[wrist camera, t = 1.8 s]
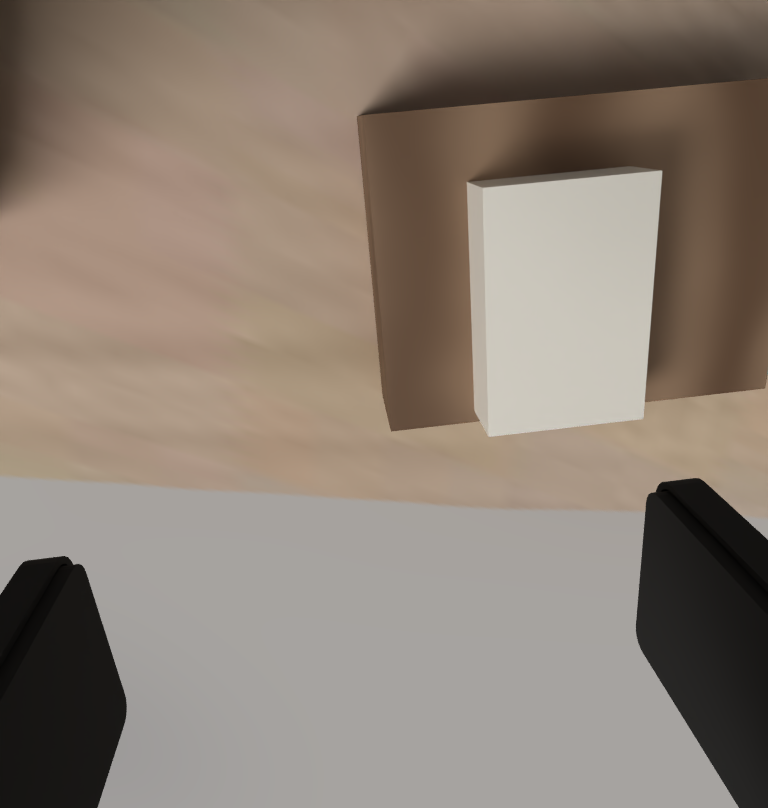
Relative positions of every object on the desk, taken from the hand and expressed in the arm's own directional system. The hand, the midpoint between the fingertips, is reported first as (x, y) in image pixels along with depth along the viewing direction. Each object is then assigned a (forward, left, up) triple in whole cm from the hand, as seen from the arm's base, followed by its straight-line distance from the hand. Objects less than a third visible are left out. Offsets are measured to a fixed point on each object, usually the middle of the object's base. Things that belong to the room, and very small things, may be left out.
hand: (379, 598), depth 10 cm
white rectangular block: (-8, 0, -15) cm, 17 cm away
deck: (-9, -1, -20) cm, 22 cm away
